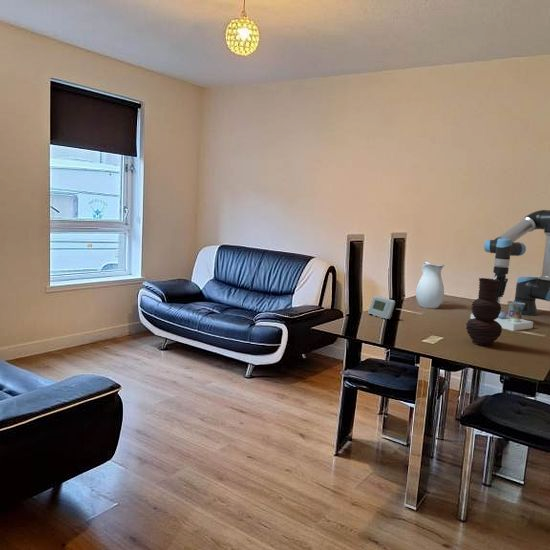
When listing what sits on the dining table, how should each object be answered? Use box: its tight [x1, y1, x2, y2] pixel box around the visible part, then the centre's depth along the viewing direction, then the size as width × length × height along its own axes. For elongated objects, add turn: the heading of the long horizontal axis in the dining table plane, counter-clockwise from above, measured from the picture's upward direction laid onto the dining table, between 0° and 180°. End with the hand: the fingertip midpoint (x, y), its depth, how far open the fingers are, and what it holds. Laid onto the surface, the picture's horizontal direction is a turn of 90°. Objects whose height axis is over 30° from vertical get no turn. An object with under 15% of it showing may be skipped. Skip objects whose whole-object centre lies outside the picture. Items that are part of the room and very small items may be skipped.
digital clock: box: [367, 295, 396, 320], centre depth 271 cm, size 16×9×11 cm, turn 22°
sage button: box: [510, 318, 520, 323], centre depth 266 cm, size 5×5×4 cm
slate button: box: [498, 311, 508, 319], centre depth 272 cm, size 5×5×4 cm
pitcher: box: [415, 261, 445, 309], centre depth 313 cm, size 24×17×28 cm
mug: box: [507, 300, 525, 319], centre depth 284 cm, size 12×9×11 cm
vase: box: [465, 277, 503, 346], centre depth 225 cm, size 15×15×30 cm
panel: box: [469, 313, 534, 332], centre depth 272 cm, size 18×26×4 cm
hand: (496, 308), depth 275 cm, fingers closed
